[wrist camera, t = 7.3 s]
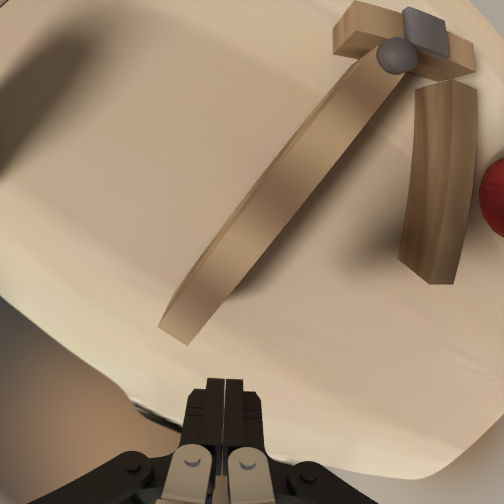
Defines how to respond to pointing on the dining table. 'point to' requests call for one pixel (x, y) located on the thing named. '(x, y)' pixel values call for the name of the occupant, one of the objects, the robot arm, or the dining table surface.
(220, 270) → the bar
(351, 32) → the wooden hinge stand
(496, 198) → the onion
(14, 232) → the dining table surface
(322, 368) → the dining table surface
